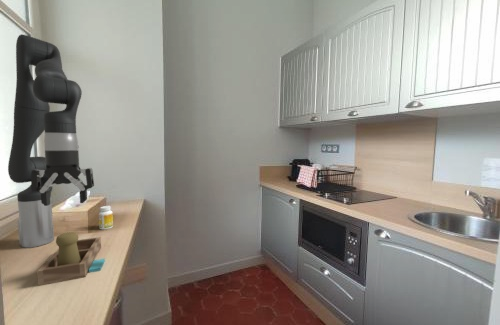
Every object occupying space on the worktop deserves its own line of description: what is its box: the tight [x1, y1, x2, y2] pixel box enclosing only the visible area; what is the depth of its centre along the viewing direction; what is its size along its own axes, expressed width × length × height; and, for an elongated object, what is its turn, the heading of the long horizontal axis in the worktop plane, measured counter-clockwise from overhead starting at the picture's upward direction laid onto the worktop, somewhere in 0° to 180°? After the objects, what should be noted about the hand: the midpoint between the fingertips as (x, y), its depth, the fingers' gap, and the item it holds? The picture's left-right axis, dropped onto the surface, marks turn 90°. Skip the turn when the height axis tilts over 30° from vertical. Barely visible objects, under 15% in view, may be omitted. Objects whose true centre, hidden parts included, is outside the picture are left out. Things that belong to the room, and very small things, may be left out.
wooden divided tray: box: [36, 236, 106, 286], centre depth 73 cm, size 20×14×4 cm
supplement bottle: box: [98, 205, 114, 231], centre depth 104 cm, size 5×5×10 cm
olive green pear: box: [55, 231, 81, 266], centre depth 68 cm, size 6×6×11 cm
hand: (65, 203), depth 67 cm, fingers open, 8 cm apart
